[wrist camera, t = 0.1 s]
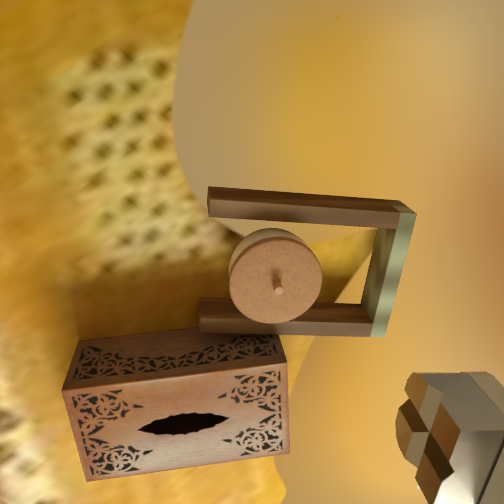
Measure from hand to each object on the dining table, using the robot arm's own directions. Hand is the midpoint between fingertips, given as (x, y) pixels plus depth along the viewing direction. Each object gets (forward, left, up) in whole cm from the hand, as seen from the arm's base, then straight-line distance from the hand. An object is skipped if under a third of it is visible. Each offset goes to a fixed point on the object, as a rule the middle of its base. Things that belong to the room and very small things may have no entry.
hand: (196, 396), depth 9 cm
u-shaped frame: (+18, +14, -48) cm, 53 cm away
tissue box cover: (+37, +2, -48) cm, 61 cm away
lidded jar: (+18, +11, -48) cm, 53 cm away
